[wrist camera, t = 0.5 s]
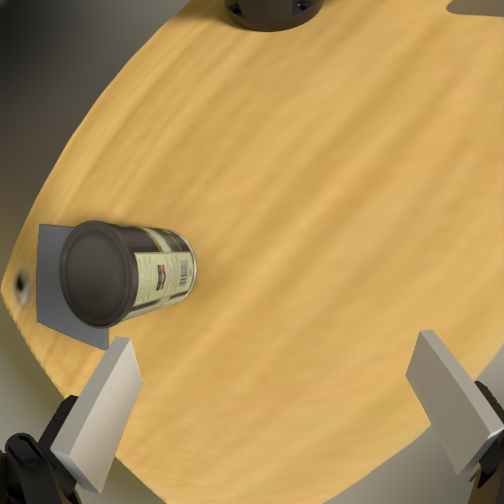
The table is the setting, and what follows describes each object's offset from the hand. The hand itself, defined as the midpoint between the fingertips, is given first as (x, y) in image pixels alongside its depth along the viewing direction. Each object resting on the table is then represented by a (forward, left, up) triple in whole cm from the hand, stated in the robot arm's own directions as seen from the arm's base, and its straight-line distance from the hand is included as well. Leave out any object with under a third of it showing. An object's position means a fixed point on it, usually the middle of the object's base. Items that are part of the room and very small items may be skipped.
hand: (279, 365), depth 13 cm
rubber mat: (+5, -37, -23) cm, 44 cm away
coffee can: (0, -19, -23) cm, 30 cm away
